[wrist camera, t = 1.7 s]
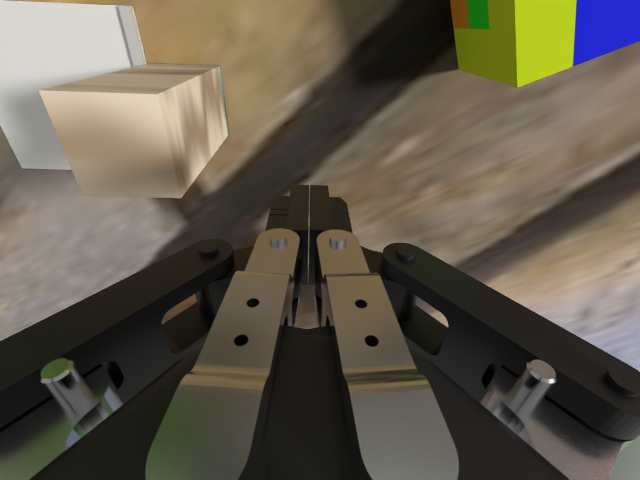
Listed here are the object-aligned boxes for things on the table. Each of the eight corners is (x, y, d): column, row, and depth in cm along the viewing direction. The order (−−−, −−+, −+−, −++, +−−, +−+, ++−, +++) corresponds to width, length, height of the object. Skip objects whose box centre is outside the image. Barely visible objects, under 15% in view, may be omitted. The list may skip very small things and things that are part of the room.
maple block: (151, 63, 28) (38, 90, 16) (220, 65, 28) (157, 94, 17) (167, 132, 31) (82, 195, 20) (228, 134, 32) (181, 198, 20)
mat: (-62, -3, 25) (-72, -3, 24) (133, 6, 26) (128, 5, 25) (24, 167, 33) (18, 170, 32) (172, 171, 34) (169, 174, 33)
